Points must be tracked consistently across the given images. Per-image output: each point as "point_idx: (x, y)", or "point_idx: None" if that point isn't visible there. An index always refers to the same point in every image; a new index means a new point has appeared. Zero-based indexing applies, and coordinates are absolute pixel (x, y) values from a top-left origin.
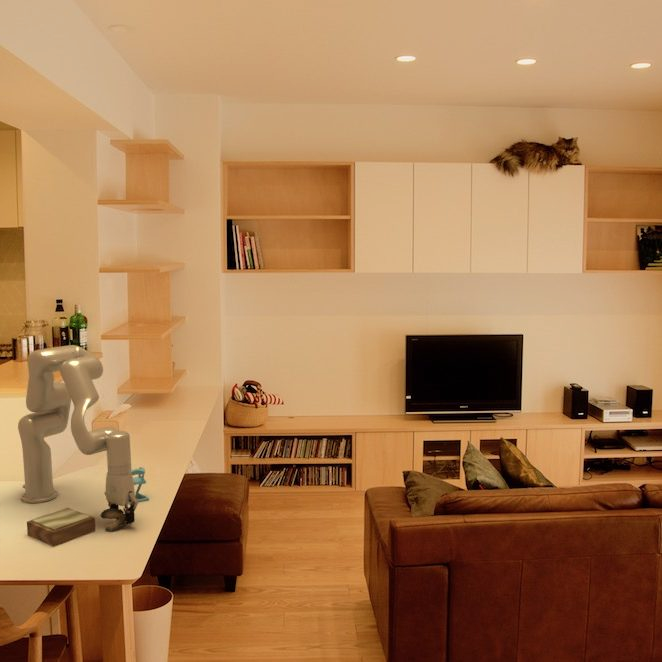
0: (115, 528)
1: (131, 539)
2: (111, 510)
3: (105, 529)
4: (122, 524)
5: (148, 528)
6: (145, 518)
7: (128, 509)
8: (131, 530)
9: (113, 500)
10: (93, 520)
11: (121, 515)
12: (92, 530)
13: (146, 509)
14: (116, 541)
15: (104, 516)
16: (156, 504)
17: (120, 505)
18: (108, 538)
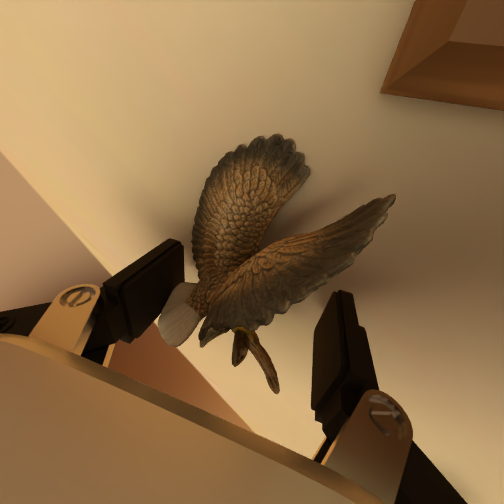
0: (212, 178)
1: (56, 114)
2: (247, 296)
3: (297, 154)
4: (194, 230)
5: (127, 264)
6: (219, 342)
7: (52, 311)
8: (160, 221)
9: (128, 492)
10: (447, 11)
11: (212, 292)
12: (404, 40)
13: (281, 405)
14: (72, 15)
15: (338, 225)
16: (279, 432)
17: (38, 344)
18: (157, 21)
